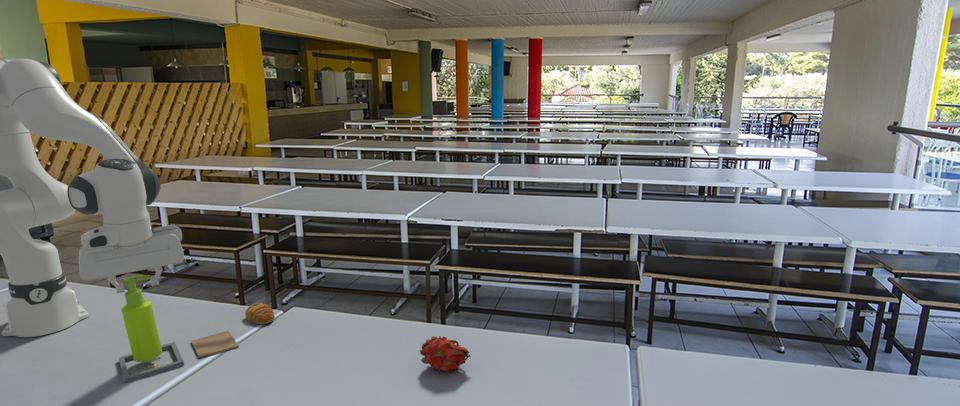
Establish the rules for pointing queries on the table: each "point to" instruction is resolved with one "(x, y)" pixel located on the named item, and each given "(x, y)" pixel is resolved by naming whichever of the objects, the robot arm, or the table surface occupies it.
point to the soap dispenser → (140, 322)
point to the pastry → (259, 313)
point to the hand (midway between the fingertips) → (138, 288)
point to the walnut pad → (214, 344)
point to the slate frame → (154, 370)
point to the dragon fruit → (443, 354)
